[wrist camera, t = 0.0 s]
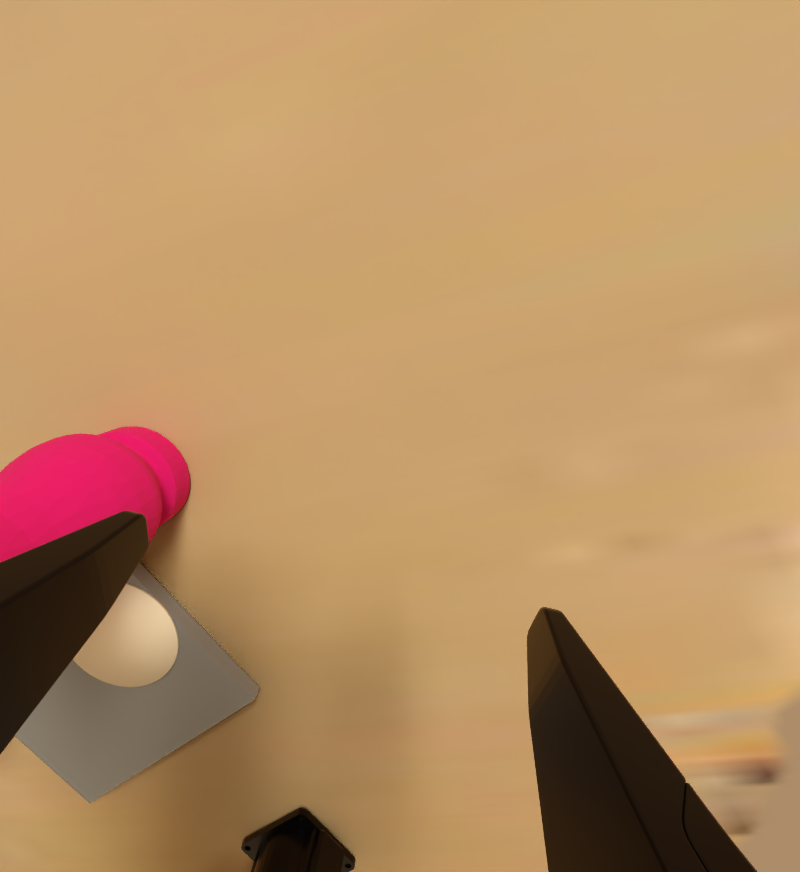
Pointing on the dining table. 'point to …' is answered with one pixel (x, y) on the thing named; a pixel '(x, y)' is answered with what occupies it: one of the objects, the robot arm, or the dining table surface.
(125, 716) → the board
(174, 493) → the pepper mill
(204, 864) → the dining table surface
